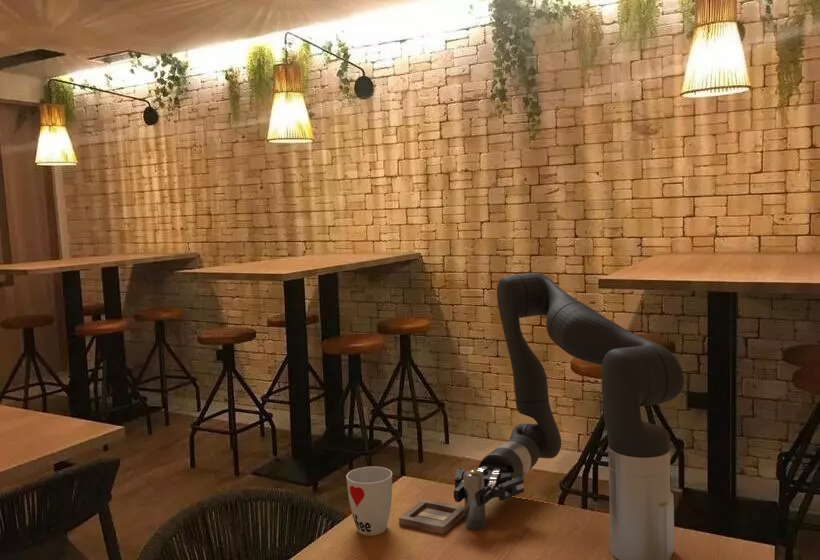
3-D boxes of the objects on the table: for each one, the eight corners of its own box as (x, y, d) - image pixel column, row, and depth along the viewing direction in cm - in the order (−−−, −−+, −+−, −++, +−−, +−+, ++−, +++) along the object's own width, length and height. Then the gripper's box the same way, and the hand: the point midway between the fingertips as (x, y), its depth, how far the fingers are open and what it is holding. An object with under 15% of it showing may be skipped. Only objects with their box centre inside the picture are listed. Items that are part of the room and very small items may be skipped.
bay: (466, 514, 127) (466, 507, 127) (443, 534, 119) (443, 527, 119) (423, 505, 132) (423, 499, 132) (399, 524, 124) (398, 517, 124)
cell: (489, 523, 123) (487, 468, 122) (480, 531, 120) (478, 475, 119) (470, 519, 125) (468, 465, 124) (462, 527, 122) (459, 472, 121)
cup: (343, 525, 125) (340, 471, 124) (384, 515, 128) (381, 463, 127) (358, 543, 117) (355, 486, 117) (402, 532, 121) (399, 477, 120)
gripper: (472, 442, 137) (430, 471, 123) (540, 451, 130) (504, 484, 115) (473, 479, 138) (432, 512, 123) (541, 490, 131) (506, 527, 116)
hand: (467, 498), depth 119 cm, fingers closed on cell, 3 cm apart
